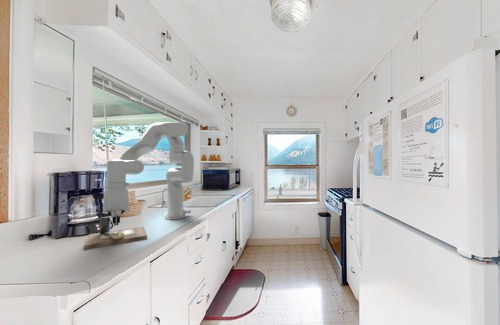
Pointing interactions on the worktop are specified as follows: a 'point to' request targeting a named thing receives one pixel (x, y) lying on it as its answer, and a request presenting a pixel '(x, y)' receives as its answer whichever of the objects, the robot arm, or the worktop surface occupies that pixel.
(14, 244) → the worktop surface
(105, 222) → the tuner lever
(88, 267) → the worktop surface
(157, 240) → the worktop surface
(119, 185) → the robot arm
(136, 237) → the board
